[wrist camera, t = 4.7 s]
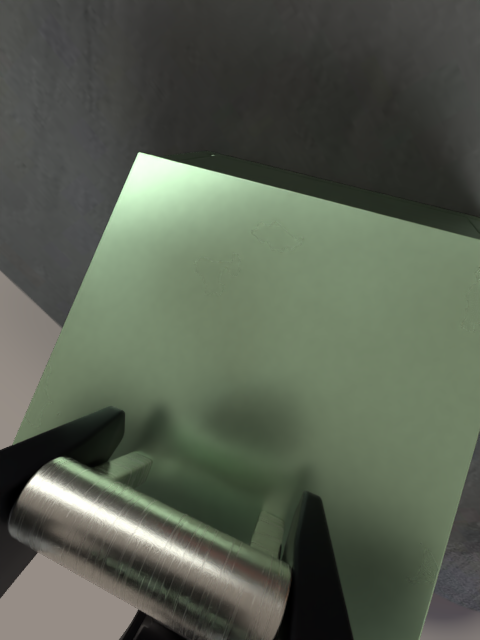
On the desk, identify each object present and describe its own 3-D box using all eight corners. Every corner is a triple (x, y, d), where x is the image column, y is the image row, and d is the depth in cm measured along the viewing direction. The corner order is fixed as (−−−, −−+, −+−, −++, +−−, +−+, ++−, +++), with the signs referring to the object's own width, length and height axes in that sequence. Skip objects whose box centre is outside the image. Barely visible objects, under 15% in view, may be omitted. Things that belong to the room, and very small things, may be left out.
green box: (378, 421, 21) (375, 491, 17) (182, 346, 23) (139, 392, 19) (484, 218, 15) (518, 252, 11) (205, 150, 17) (149, 156, 13)
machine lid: (386, 704, 9) (484, 1072, 4) (5, 498, 12) (-208, 578, 7) (515, 261, 11) (703, 150, 6) (147, 164, 13) (54, 30, 8)
